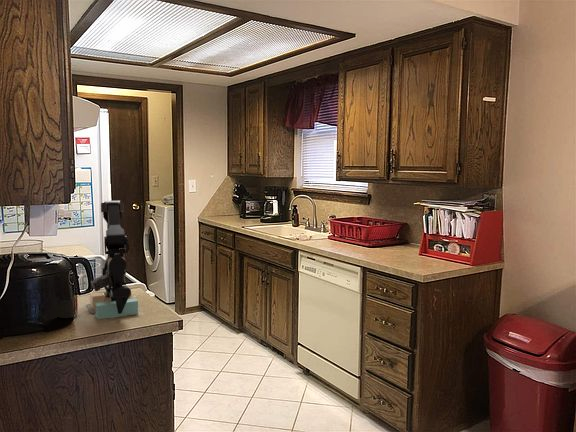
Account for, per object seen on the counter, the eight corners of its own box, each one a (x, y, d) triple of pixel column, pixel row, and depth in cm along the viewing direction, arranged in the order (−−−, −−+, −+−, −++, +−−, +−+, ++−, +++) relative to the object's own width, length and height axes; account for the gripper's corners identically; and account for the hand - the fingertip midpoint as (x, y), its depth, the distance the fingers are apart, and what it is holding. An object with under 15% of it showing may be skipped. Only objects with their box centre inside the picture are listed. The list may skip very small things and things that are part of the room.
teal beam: (95, 316, 175) (95, 303, 174) (135, 311, 182) (135, 298, 181) (97, 319, 171) (97, 306, 171) (138, 314, 178) (137, 301, 178)
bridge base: (86, 305, 187) (86, 291, 186) (129, 300, 195) (129, 286, 194) (91, 314, 177) (91, 299, 176) (136, 308, 185) (136, 294, 184)
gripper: (88, 264, 178) (89, 306, 180) (96, 275, 162) (97, 320, 164) (119, 262, 184) (120, 302, 186) (131, 272, 168) (131, 316, 170)
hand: (117, 310), depth 176 cm, fingers open, 9 cm apart
